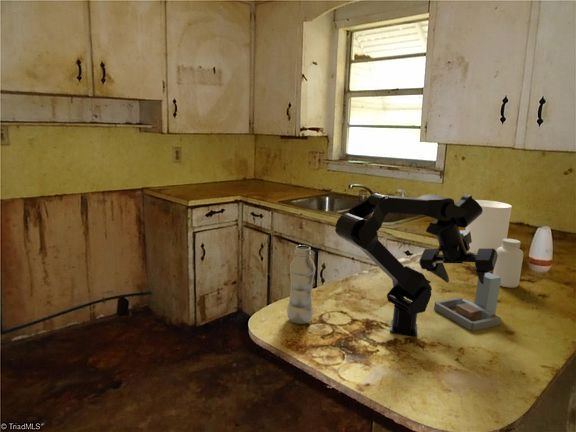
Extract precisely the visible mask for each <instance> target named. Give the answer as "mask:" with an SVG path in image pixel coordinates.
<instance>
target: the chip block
mask: <svg viewBox="0 0 576 432" xmlns="http://www.w3.org/2000/svg"><path fill="white" fill-rule="evenodd" d="M481 311H482V310H480V309H478V308H476V307H474V306H472V305H470V304H468V303H464V304H459V305H456V306H455V311H454V312H456V313H458V314H460V315H461V316H463V317H465V318H467V319H469V320H470V321H472V322H474V321H479V320H481V319H480V318H481Z"/></svg>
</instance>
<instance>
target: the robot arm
mask: <svg viewBox="0 0 576 432" xmlns="http://www.w3.org/2000/svg"><path fill="white" fill-rule="evenodd" d="M475 200H476V199H473V196H472V195H470V194H464V195H462V196H461V197H460V198H459V200H458V201H456V202H455V199H453V198H451V197H446V196H443V195H442V196H441V195H438V194H433V193H428V194H422V195H420V196H418V197H417V196H416V197H411V196H401V195H399V196H398V195H385V194H381V193H380V194H379V193H373V194H372V193H371V194H370V195H369V196H368V197H367V198H365V200H363V201H362V202H359V203H357V204H355V205H353V206H352V207H350V208H349V210H347V211H346V212H345V213H344V214H342V215H340V217H338V219H337V221H336V223H335V230H334V231H335V233H336V235H337V236H338V237H340V238H341V239H343V240H344V241H346V242H348V243H350V244H351V245H353V246H355V247H356V248H359V249H360V250H361V251H363V253H365V254H366V256H368V257H369V259H370V260H372V262H374V263H375V264H376V265H377V267H379V269H381V270H382V271H383V272H384V273H385V274H386V275H387V276H388V277H389V278H390V279H391V280H392V286H393V287H392V288H391V289H390V290H389V292H388V293H387V294H386V300H387V302H388V303H391V304H392V305H393V313H392V319H390V325H389V326H390V328H389V332H390V333H392V334H398V335H404V336H411V337H417V336H418V323H417V320H418V319H417V318H418V314H420V313H425V312H426V310H427V307H428V305H429V302H430V299H431V297H432V290H433V288H432V286H431V281H430V280H428V279H427V278H426V276H425V275H424V274H423V272H421V271H418V270H416V269H414V268H411V267H409V266H407V265H405V266H404V265H403V264H402V262H400V261H399V259H398V258H396V257H395V255H394V254H393V253H391V252H390V251H389V249H388V248H387V247H386V246H384V244H383V243H382V242H381V241H380V240H379V235H378V231H379V230H380V229H381V228H382V225H383V222H384V220H385V218H386V216H387V215H388V214H399V215H400V214H401V215H414V216H415V215H416V216H417V215H419V216H425V217H428V218H432V219H435V220H434V221H433V222H429V225H428V226H427V227H426V231H425V232H426V233H428V234H431V235H434V236H436V240H437V242H438V248H424V250H423V251H422V253H421V256H420V257H419V261H418V262H419V263H418V264H419V266H420V269H421V270H426V271H427V272H430V273H431V274H434V275H436V277H439V278H440V280H443V281H444V282H446V283H447V284H448V283H449V281H450V278H449V274H448V273H447V270H446V268H445V265H444V264H463V263H474V265H475V269H476V270H475V273H476V275H477V279H478V278H479V280H480V282H481V284H484V279H485V273H490V272H491V271H492V272H493V271H494V268H495V264H496V261H497V257H498V255H497V251H496V250H495V249H479V250H478V253H470V252H468V251H469V249H470V247H469V244H470V243H471V242H472V239H471V233H470V230H466V227H467V226H468V225H469V224H471V223H472V222H473V221H474V220H475V219H476V218H477V217H479V216H480V215H481V214H482V211H483V210H482V207H481V206H480V205H479V204H478V202H476V201H475ZM371 214H372V215H371ZM369 215H371V216H370V217H369V218H368V219H366V218H365V217H367V216H369ZM460 228H465V230H464V229H463V230H460ZM440 253H442V254H440Z"/></svg>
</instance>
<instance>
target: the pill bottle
mask: <svg viewBox="0 0 576 432" xmlns="http://www.w3.org/2000/svg"><path fill="white" fill-rule="evenodd" d="M521 243H522V242H521V241H520V240H518V239H514V238H507V239H503V240H502V246H501V247H499V248H498V249H497V255H498V257H497V261H496V264H495V268H494V270H493V271H492V274H494V275H497V276H499V277H501V282H500V287H504V288H511V289H513V288H517V287H519V284H520V278H521V271H522V267H523V259H524V252H523V250H521V249H520V248H521Z"/></svg>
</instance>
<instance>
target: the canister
mask: <svg viewBox="0 0 576 432" xmlns="http://www.w3.org/2000/svg"><path fill="white" fill-rule="evenodd" d="M474 200H475V201H476V202H478V204H479V205H480V206H481V207H482V210H483V211H482V214H481V215H480V216H479V217H477V218H476V219H475V220H474V221H473V222H472V223H471V224H469V225H468V226H467V227H465V230H470V233H471V239H472V242H471V243H470V244H469V247H470V249H469V251H467V253H478V250H479V249H495V250H496V251H497V249H498V248H499V247H501V246H502V240H503V239H508V232H509V226H510V220H511V219H510V218H511V214H512V210H513V209H512V208H513V206H512V205H511V204H509V203H506V202H501V201H495V200H487V199H486V200H483V199H474Z"/></svg>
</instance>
